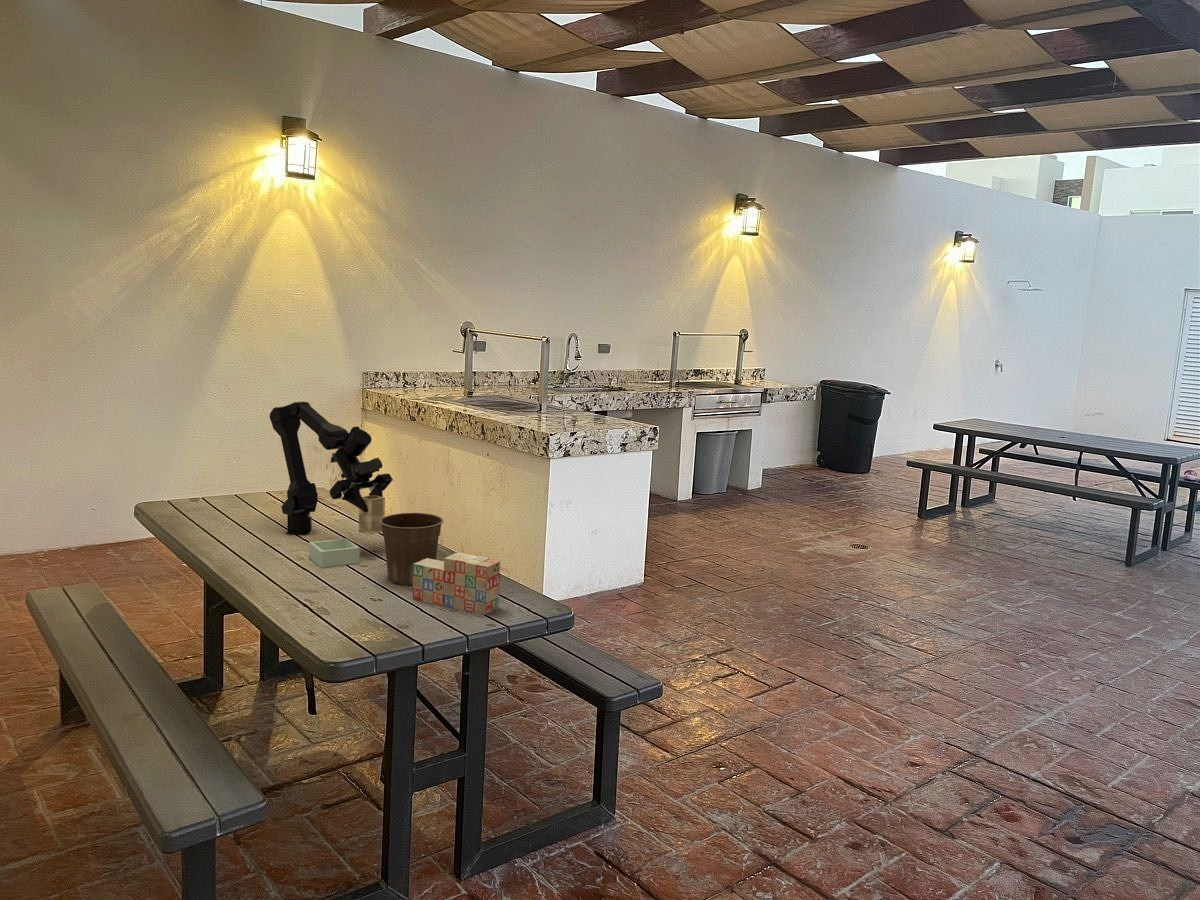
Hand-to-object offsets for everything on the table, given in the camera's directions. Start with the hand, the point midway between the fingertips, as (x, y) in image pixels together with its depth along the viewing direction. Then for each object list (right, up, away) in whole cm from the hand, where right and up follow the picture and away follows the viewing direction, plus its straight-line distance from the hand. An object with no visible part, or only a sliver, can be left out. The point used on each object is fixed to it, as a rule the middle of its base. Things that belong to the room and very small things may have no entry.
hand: (375, 510), depth 260 cm
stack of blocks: (+28, -21, -34) cm, 49 cm away
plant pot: (+13, -17, -17) cm, 28 cm away
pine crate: (-1, -6, +2) cm, 7 cm away
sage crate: (-10, -14, -4) cm, 18 cm away
